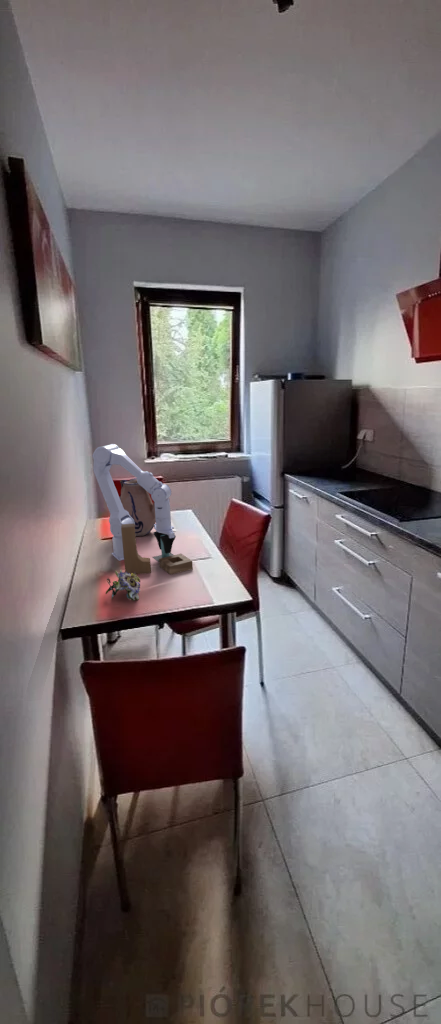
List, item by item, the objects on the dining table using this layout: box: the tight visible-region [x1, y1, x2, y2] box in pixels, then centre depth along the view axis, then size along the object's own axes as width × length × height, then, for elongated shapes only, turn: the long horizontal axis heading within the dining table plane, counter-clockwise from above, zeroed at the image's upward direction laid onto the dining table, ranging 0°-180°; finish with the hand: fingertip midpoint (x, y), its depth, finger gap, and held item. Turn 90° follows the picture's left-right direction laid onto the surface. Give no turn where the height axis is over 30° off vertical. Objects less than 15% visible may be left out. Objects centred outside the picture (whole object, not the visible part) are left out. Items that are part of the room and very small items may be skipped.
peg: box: [160, 535, 170, 558], centre depth 163 cm, size 3×3×9 cm
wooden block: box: [121, 524, 152, 575], centre depth 150 cm, size 9×4×18 cm, turn 101°
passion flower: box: [105, 569, 141, 602], centre depth 133 cm, size 11×11×12 cm
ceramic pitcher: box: [119, 477, 156, 537], centre depth 192 cm, size 18×21×25 cm
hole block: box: [158, 553, 194, 575], centre depth 155 cm, size 9×9×4 cm
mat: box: [152, 552, 174, 563], centre depth 165 cm, size 8×8×1 cm
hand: (165, 550), depth 164 cm, fingers open, 4 cm apart
